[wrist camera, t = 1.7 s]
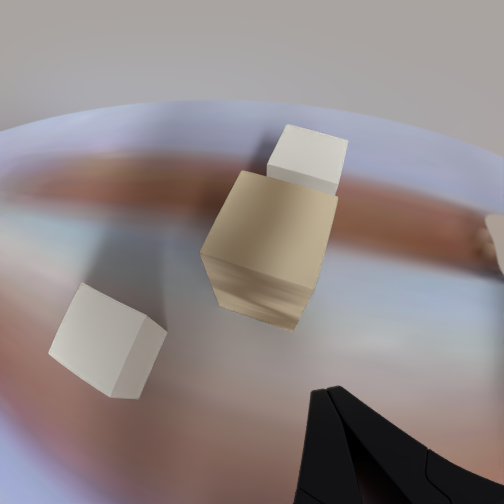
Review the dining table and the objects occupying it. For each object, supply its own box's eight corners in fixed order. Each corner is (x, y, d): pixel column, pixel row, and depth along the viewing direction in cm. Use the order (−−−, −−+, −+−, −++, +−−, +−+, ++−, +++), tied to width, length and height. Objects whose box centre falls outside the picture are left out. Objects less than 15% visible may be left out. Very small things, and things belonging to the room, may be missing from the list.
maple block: (313, 264, 24) (338, 196, 16) (292, 331, 22) (314, 289, 14) (246, 243, 25) (241, 170, 17) (219, 306, 23) (199, 252, 15)
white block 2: (337, 176, 29) (348, 140, 25) (326, 219, 26) (338, 184, 22) (281, 159, 30) (284, 123, 26) (263, 200, 28) (264, 163, 23)
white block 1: (168, 332, 22) (146, 314, 17) (139, 399, 19) (110, 397, 15) (108, 303, 23) (79, 281, 18) (80, 363, 20) (46, 351, 16)
